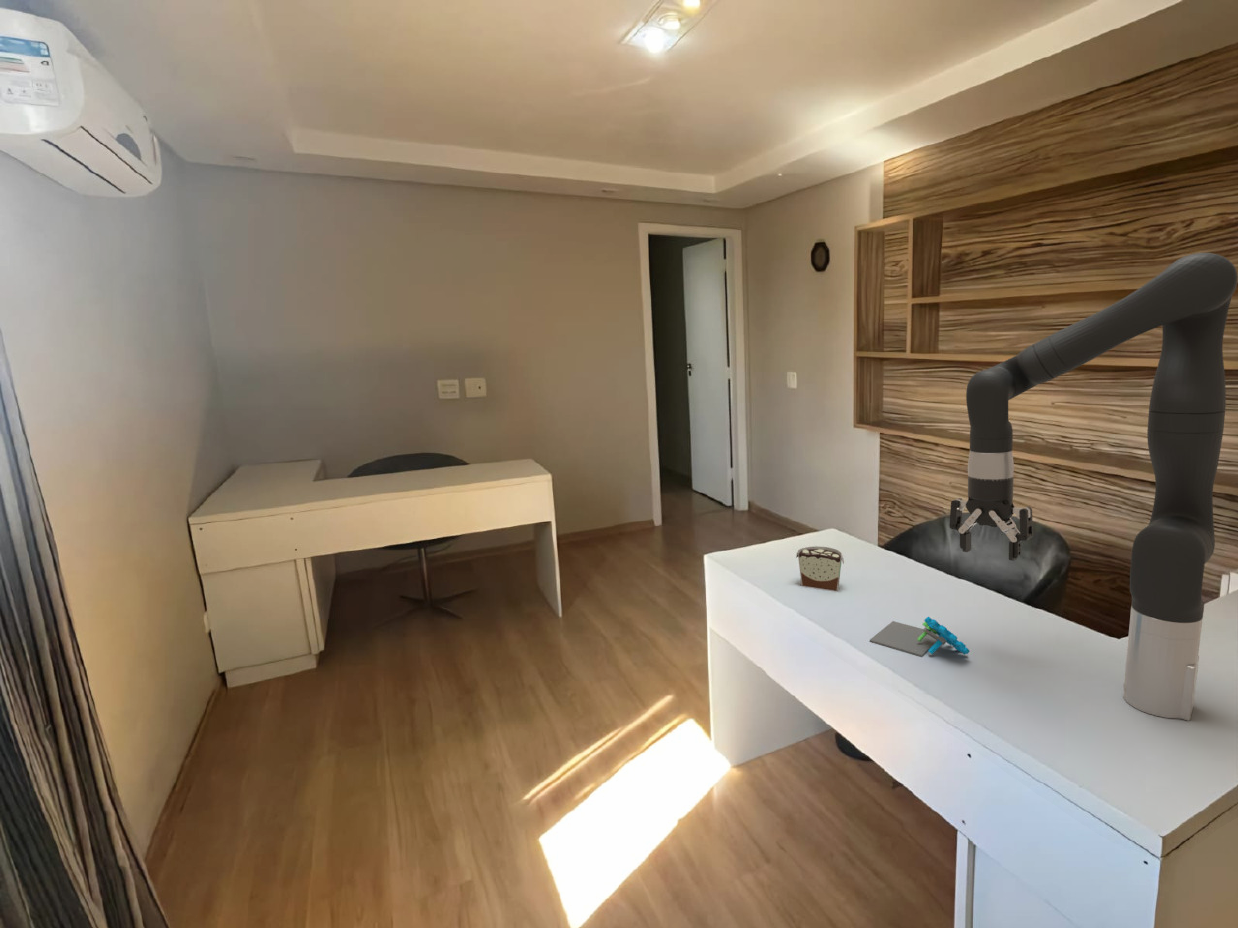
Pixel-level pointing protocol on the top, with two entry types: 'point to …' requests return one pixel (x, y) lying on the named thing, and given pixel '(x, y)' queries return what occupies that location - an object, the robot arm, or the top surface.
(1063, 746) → the top surface
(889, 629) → the mat
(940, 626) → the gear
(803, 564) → the food container
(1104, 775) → the top surface
